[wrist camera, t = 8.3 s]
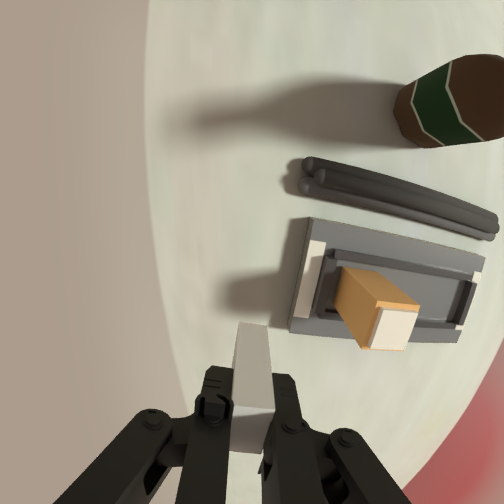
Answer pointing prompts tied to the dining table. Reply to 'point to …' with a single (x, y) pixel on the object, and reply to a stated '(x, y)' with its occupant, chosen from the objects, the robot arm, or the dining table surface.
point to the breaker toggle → (375, 310)
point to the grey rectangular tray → (393, 269)
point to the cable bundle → (395, 197)
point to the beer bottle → (454, 103)
